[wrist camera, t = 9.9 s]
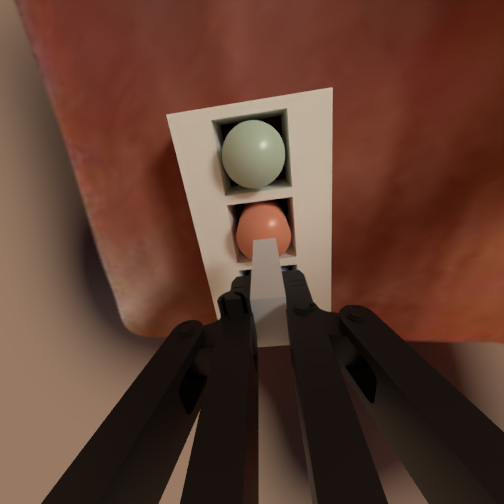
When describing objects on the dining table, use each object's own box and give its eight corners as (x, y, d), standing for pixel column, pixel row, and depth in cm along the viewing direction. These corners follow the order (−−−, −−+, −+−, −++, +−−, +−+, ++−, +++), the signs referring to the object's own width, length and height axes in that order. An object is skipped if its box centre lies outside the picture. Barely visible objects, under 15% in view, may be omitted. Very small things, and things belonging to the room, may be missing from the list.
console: (185, 120, 22) (166, 114, 17) (316, 99, 21) (332, 87, 16) (224, 297, 30) (218, 324, 25) (319, 287, 29) (330, 314, 24)
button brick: (237, 198, 24) (231, 214, 19) (281, 192, 24) (289, 207, 19) (244, 239, 26) (240, 264, 21) (285, 234, 26) (292, 258, 20)
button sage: (226, 130, 22) (216, 125, 16) (276, 122, 21) (282, 115, 16) (234, 180, 24) (227, 192, 18) (280, 174, 23) (287, 184, 18)
